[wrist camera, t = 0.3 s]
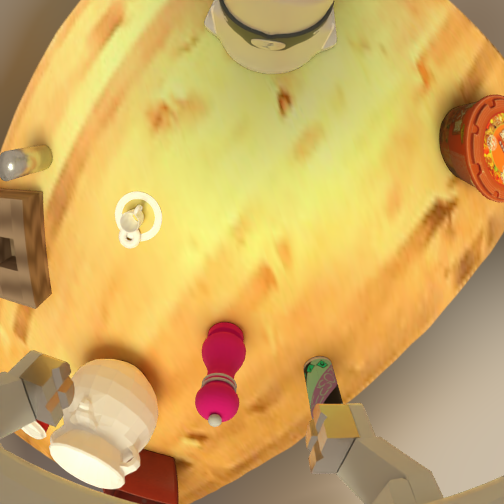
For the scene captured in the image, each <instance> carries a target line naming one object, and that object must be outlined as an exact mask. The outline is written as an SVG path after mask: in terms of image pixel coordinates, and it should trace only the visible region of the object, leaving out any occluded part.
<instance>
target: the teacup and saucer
mask: <svg viewBox="0 0 504 504" xmlns="http://www.w3.org/2000/svg"><path fill="white" fill-rule="evenodd" d="M133 199H142V200H145V201H146V202H148V203H149V204H150V205H151V207H152V208H153V210H154V213H155V222H154V225H153V227H152V228H151V229H150V230H149V231H148V232H146V233H143V234H140V231H139V229H138V228H139V227H140V226H141V224H142V223H143V221H144V214H143V212H142V209H143V207H142V206H141V205H140V204H139V205H137V207H136V208H135V209H132V210H130V211H127V212H125V213H124V214H123V215H122V211H123V208H124V206H125V204H126V203H127V202H129V201H130V200H133ZM133 214H134V215H135V216H136V217H137V219H138V221H136V220H134V218H133ZM115 219H116V223H117V226H118V228H119V229H120V232H119V240H120V243H121V244H122V245H123V246H124V247H126V248H134V247H136V246H137V245H138V244H139V243H140V241H146V240H149V239H151V238H152V237H154V236H155V235H156V234H157V233H158V231H159V229H160V227H161V224H162V213H161V209H160V207H159V205H158V203H157V202H156V200H155V199H154V198H153V197H151V196H150V195H148V194H146V193H144V192H139V191H135V192H130V193H128V194H126V195H124V196H123V197H122V198H121V199H120V200H119V202H118V204H117V206H116V210H115ZM126 237H128V238H130V239H132V240H127V238H126Z"/></svg>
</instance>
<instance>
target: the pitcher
mask: <svg viewBox="0 0 504 504" xmlns="http://www.w3.org/2000/svg"><path fill="white" fill-rule="evenodd" d="M71 380H72V381H73V383H74V387H75V394H74V398H73V401H72V403H71V405H70V406H69V407H67V408H65V409H63V414H64V415H63V419H64V425H63V426H62V427H60V428H59V429H57V430H56V431H54V432H53V434H52V435H51V438H50V443H51V445H50V446H49V448H50V453H51V456H52V457H53V459H54V460H55V461H56V462H57V463H58V464H59V465H60V466H61V467H62V468H63V469H65V470H66V471H67V472H69V473H70V474H72V475H74V476H75V477H76V478H78V479H80V480H82V481H84V482H86V483H88V484H91V485H94V486H96V487H100V488H104V489H117V488H120V487H122V486H123V485H124V484H125V476H126V475H128V474H129V473H131V472H134V471H136V470H137V469H138V468H139V466H140V456H139V452H140V451H141V450H142V449H143V448H144V447H145V446H146V445H147V443H148V442H149V440H150V438H151V436H152V434H153V432H154V429H155V427H156V423H157V418H158V405H157V398H156V395H155V392H154V390H153V388H152V386H151V384H150V383H149V382H148V380H147V379H146V377H145V376H144V374H143V373H142V372H141V371H140V370H139V369H138V368H137V367H136V366H134V365H132V364H130V363H128V362H124V361H120V360H116V359H96V360H93V361H90V362H88V363H86V364H85V365H83V366H82V367H80V368H79V369H78V371H77V372H76V373H75V374H74V376H73V377H72V378H71ZM131 458H132V460H131V461H129V460H130V459H131ZM128 461H129V462H128ZM126 462H127V463H126Z"/></svg>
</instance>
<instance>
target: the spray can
mask: <svg viewBox="0 0 504 504" xmlns="http://www.w3.org/2000/svg"><path fill="white" fill-rule="evenodd" d="M304 375H305V380H306V386H307V392H308V398H309V403H310V409H311V415H312V419H314V417H313V410H314V407H315V405H316V404H343V402H342V399H341V395H340V391H339V388H338V384H337V381H336V377H335V374H334V370H333V367H332V363H331V361H330V360H329V359H328V358H326V357H323V356H317V357H313V358H311V359H309V360H308V361H307V362H306V363H305V365H304Z"/></svg>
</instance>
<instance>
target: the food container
mask: <svg viewBox="0 0 504 504" xmlns="http://www.w3.org/2000/svg"><path fill="white" fill-rule="evenodd" d="M440 148H441V153H442V156H443V159H444V161H445V163H446V165H447V167H448V168H449V169H450V171H451V172H452V173H453V174H454V175H455V176H456V177H458V178H460V179H462V180H463V181H465V182H467V183H469V184H471V185H472V186H474V187H476V188H477V190H479V192H481V193H482V195H483V196H485V197H486V198H487V199H489V200H493V201H495V202H504V96H501V95H489V96H486V97H484V98H482V99H481V100H480V101H478V102H475V103H470V104H466V105H462V106H458V107H456V108H454V109H452V110H451V111H450V112H449V113H448V114H447V115H446V117H445V118H444V120H443V123H442V125H441V130H440Z"/></svg>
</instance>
